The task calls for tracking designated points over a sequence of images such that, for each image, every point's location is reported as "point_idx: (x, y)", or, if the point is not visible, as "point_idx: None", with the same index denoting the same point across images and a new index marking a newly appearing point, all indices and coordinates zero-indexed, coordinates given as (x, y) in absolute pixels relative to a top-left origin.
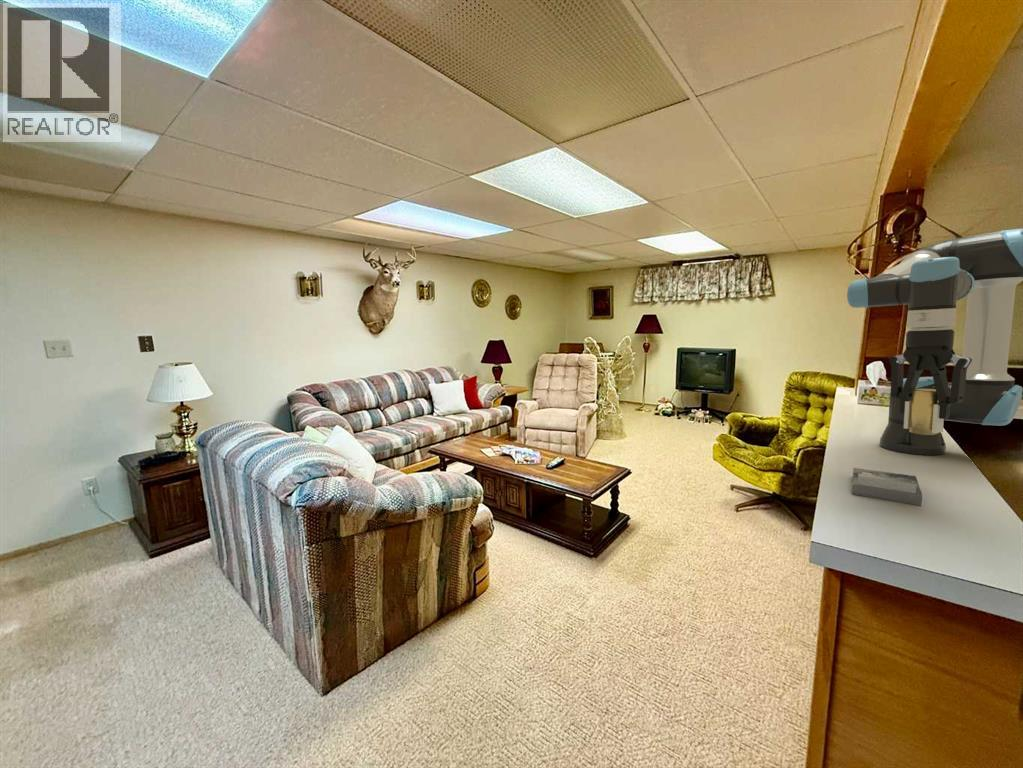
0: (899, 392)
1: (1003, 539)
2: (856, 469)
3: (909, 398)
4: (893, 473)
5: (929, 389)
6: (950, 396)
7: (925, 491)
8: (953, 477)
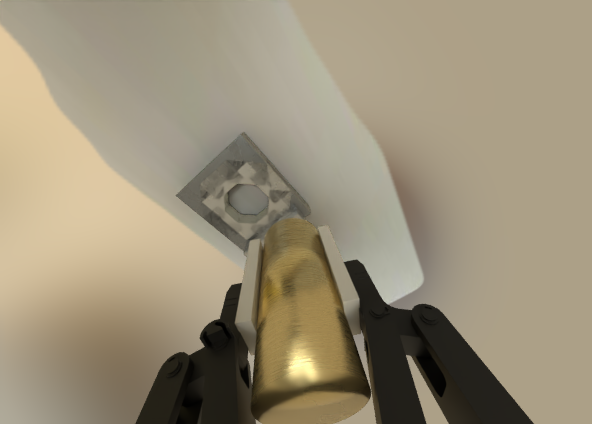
0: (194, 392)
1: (393, 211)
2: (187, 199)
3: (241, 349)
4: (218, 158)
5: (303, 383)
6: (421, 372)
7: (266, 138)
8: None
